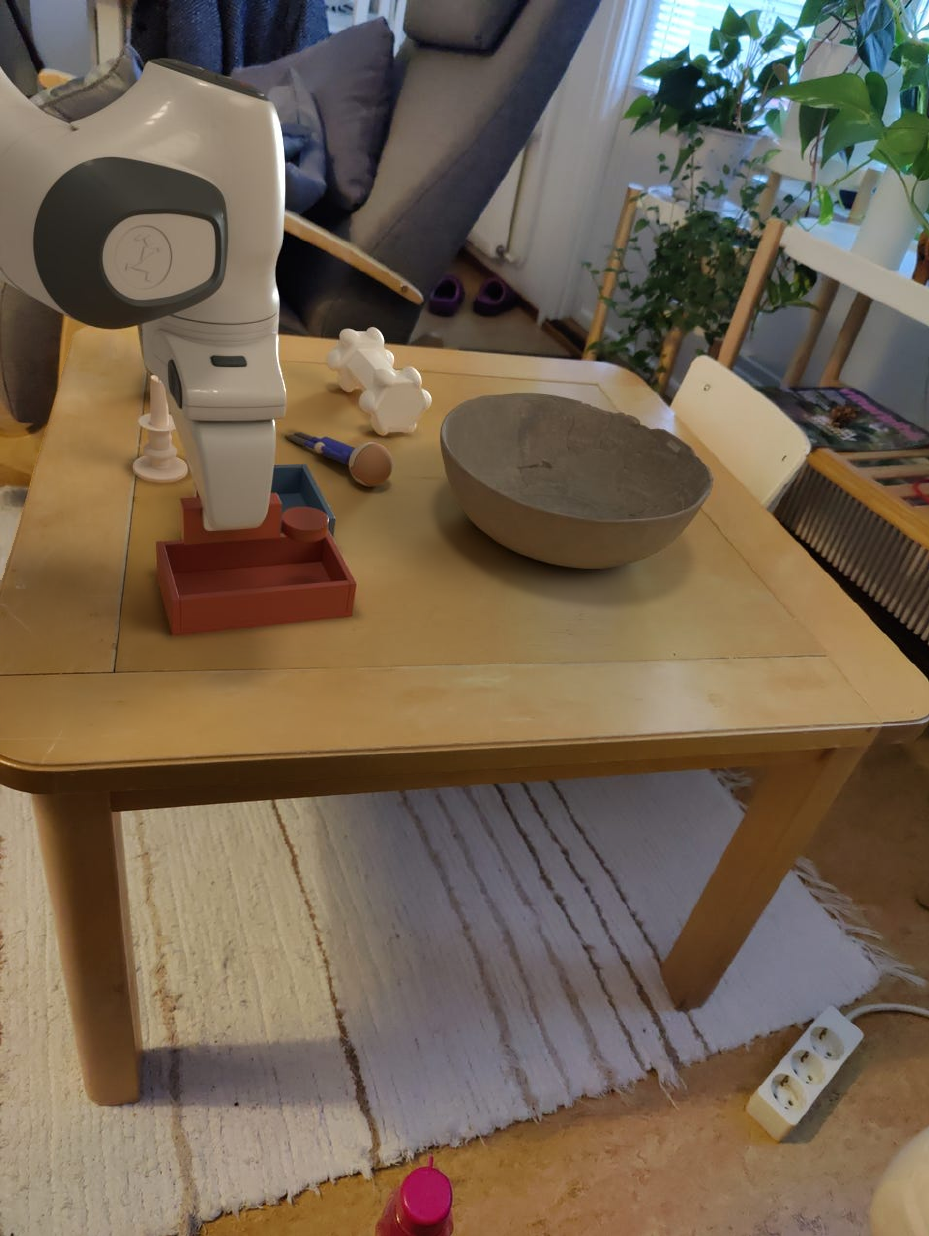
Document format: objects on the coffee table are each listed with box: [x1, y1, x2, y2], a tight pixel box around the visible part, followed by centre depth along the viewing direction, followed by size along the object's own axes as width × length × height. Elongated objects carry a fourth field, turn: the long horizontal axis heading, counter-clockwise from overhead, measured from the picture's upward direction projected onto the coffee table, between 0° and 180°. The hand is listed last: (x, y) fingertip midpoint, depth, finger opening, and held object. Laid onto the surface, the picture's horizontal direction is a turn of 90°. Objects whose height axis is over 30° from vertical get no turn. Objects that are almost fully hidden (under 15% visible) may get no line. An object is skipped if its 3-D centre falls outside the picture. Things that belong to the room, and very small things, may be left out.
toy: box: [284, 431, 394, 487], centre depth 95 cm, size 5×5×15 cm
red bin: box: [155, 530, 357, 637], centre depth 73 cm, size 15×8×4 cm, turn 114°
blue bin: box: [271, 463, 337, 539], centre depth 82 cm, size 10×10×4 cm
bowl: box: [439, 392, 714, 570], centre depth 90 cm, size 28×28×10 cm
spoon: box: [179, 493, 329, 545], centre depth 69 cm, size 12×4×3 cm, turn 113°
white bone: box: [325, 326, 433, 437], centre depth 105 cm, size 15×9×8 cm, turn 26°
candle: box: [132, 375, 189, 484], centre depth 84 cm, size 5×5×10 cm
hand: (210, 514), depth 68 cm, fingers closed on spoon, 2 cm apart
